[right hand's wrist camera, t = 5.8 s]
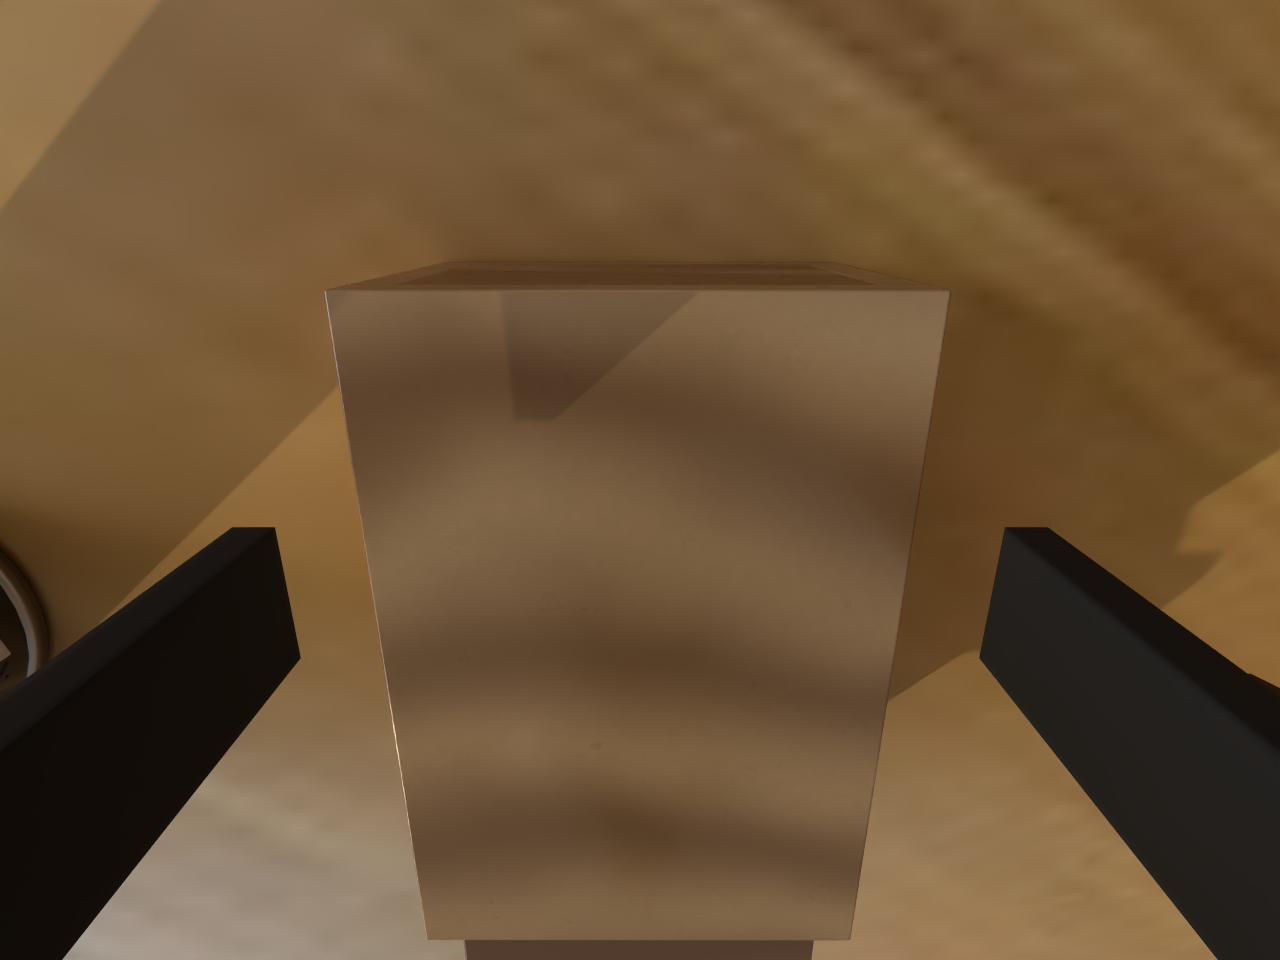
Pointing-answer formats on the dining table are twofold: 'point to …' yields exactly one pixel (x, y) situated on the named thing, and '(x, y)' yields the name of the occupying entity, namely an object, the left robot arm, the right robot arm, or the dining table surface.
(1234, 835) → the right robot arm
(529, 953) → the drawer
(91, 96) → the dining table surface
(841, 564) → the cabinet
